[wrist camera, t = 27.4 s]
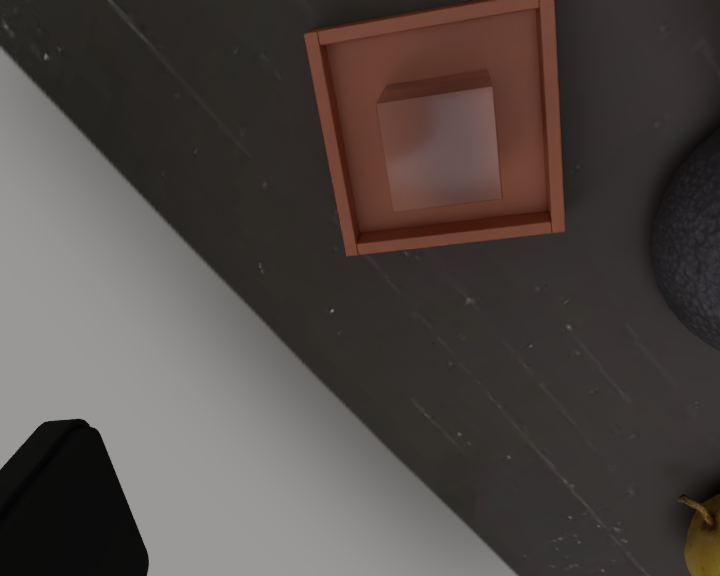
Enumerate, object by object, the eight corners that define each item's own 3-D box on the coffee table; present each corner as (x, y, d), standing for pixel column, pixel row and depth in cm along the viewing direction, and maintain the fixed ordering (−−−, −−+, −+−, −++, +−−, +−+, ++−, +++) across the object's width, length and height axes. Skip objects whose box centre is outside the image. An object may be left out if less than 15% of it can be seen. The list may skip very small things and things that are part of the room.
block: (400, 181, 32) (392, 212, 28) (385, 85, 30) (375, 103, 26) (496, 169, 31) (502, 199, 27) (487, 68, 29) (493, 85, 25)
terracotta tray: (351, 240, 34) (346, 256, 32) (312, 29, 30) (303, 33, 28) (559, 216, 32) (565, 232, 30) (547, -13, 28) (554, -11, 26)
